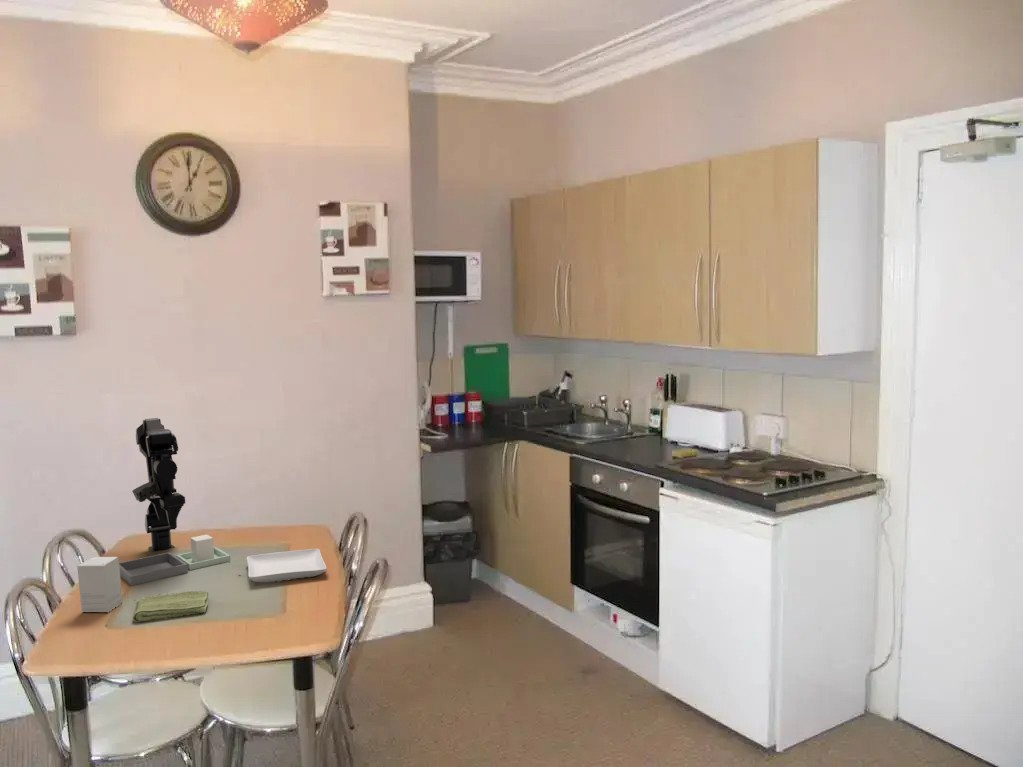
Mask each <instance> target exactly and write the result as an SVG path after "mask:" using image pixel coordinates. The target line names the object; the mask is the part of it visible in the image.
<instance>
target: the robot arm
mask: <svg viewBox="0 0 1023 767" xmlns="http://www.w3.org/2000/svg"><path fill="white" fill-rule="evenodd" d="M135 441H136V446H138V449H139V452H140V453H141V454H142V455H143V456H144V458H145V462H146V469H147V479H148V482H145V483H143V484H142V485H140V486H137V487H136V488H133V490H132V494H133V495H134V498H135V500H136V501H138V502H139V503H143V502H145V501H146V500H148V501H149V502H150V503H149V505H148V507H147V510H146V514H145V515H144V516H145V518H144V527H145V533H147V534H150V540H151V546H148V550H150V551H151V552H153V553H156V552H159V551H165V550H170V549H174V548H176V546H174V544H172V536H171V534H172V532H171V530H176V529H177V527H178V524H177V523H178V522H177V521H178V516H179V515H180V512H181V511H182V509H183V507H184V505H185V504H186V496H184V495H183V494H181V493H179V492H177V488H175V484H174V483H175V482H174V480H176V474H177V473H178V465H177V463H176V462H175V460H173V455H177V454H178V452H179V444H178V441H177V436H175V433H172V430H170V429H169V428H167V429H165V426H164V425H163V424H162V422H161V418H158V417H152V418H145V419H143V420H142V424H140V425H139V426H138V427H137V428H136V429H135Z"/></svg>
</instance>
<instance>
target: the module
mask: <svg viewBox="0 0 1023 767" xmlns="http://www.w3.org/2000/svg"><path fill="white" fill-rule="evenodd" d="M214 547H215V544H214V537H212V536H210V534H201V535H199V536H198V535H197V536H192V537H190V552H191V553H192V561H194V562H200V561H204V560H209V559H213V558H214Z"/></svg>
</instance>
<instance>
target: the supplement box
mask: <svg viewBox="0 0 1023 767" xmlns="http://www.w3.org/2000/svg"><path fill="white" fill-rule="evenodd" d="M119 560H120V559H119V556H93V557H91V558H90V557H89V558H88V559H87V560H84V562H81V563H79V565H77V566H76V567H77V576H78V578H77V579H78V586H79V587H78V588H79V596H80V606H81V613H82V612H108V613H110V612H112V611H113V610H115V609H116V608H117V607H119V606H121V605H122V604H123V592H122V581H121V579H122V578H121V576H120V568H119V563H120V561H119ZM115 607H116V608H115ZM112 609H113V610H112ZM109 611H110V612H109Z"/></svg>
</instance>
